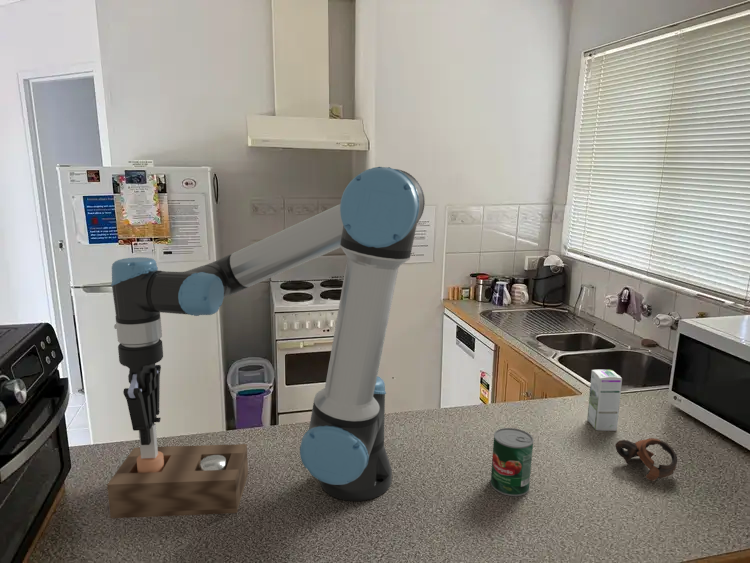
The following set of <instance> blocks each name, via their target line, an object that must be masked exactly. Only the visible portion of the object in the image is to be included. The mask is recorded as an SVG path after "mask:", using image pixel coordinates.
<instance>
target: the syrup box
mask: <svg viewBox="0 0 750 563" xmlns="http://www.w3.org/2000/svg"><path fill="white" fill-rule="evenodd" d="M590 377H591V378H590V383H589V388H590V389H589V395H588V396H589V397H588V406H587V407H588V408H587V419H586V420H587V422H588V423H589V424H590V425H591V426H592V427H593V429H594V430H596V431H601V432H602V431H603V432H604V431H607V432H608V431H609V432H610V431H611V432H613V431H615V432H617V431H618V422H619V413H620V403H621V395H622V394H621V393H622V383H623V378H622V377H621V375H619V374H617V373H616V372H615V371H614V370H613V369H591V374H590Z"/></svg>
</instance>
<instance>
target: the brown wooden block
mask: <svg viewBox="0 0 750 563" xmlns="http://www.w3.org/2000/svg"><path fill="white" fill-rule="evenodd" d="M157 447H158V451H160V452H162V453H163V457H164V468H163V470H162V472H149V473H138V470H137V458H138V457H139V456H140V455H141V451H140V446H139V447H133V449H132V450H131V451H130V452H129V453H128V456H127V457H125V460H124V461H123V462H122V464H121V465H120V466H119V467H118V469H117V471H115V473H114V474H113V476H112V477H111V479H110V480H109V481H108V482H107V484H106V486H107V496H108V497H107V498H108V506H109V507H108V508H109V516H110V519H131V518H132V519H134V518H151V517H152V518H157V517H177V516H178V517H179V516H180V517H181V516H199V515H200V516H201V515H205V516H206V515H223V514H224V515H226V514H227V515H228V514H229V515H230V514H237V513H238V511H239V508H240V504H241V502H242V501H241V500H242V497H243V493H244V491H245V486H246V483H247V479H248V476H249V466H248V465H249V464H248V461H249V460H248V444H247V443H242V444H241V443H238V444H237V443H236V444H210V445H209V444H206V445H178V446H177V445H176V446H175V445H173V446H170V445H169V446H157ZM211 455H221V456H224V457H225V458H226V470H207V471H201V465H200V463H201V461H202V460H203V459H204V458H206V457H208V456H211Z"/></svg>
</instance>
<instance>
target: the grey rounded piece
mask: <svg viewBox="0 0 750 563" xmlns="http://www.w3.org/2000/svg"><path fill="white" fill-rule="evenodd" d="M200 465H201V471H207V470H226V458H225V457H224V456H221V455H211V456H208V457H206V458H204V459H203V460H202V461H201V463H200Z"/></svg>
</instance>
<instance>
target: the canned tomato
mask: <svg viewBox="0 0 750 563" xmlns="http://www.w3.org/2000/svg"><path fill="white" fill-rule="evenodd" d="M534 442H535V441H534V437H533V436H532V435H531V434H530V433H529V432H527V431H526V430H524V429H520V428H515V427H503V428H502V427H501V428H499V429H497V430H495V431H494V433H493V445H492V447H493V448H492V459H491V470H490V471H491V473H490V486H491V487H492V488H493V489H494V491H496V492H498V493H500V494H501V495H504V496H509V497H521V496H524V495H526V494H527V493H529V491H530V484H531V483H530V482H531V471H532V464H533V463H532V460H533V448H534Z"/></svg>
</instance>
